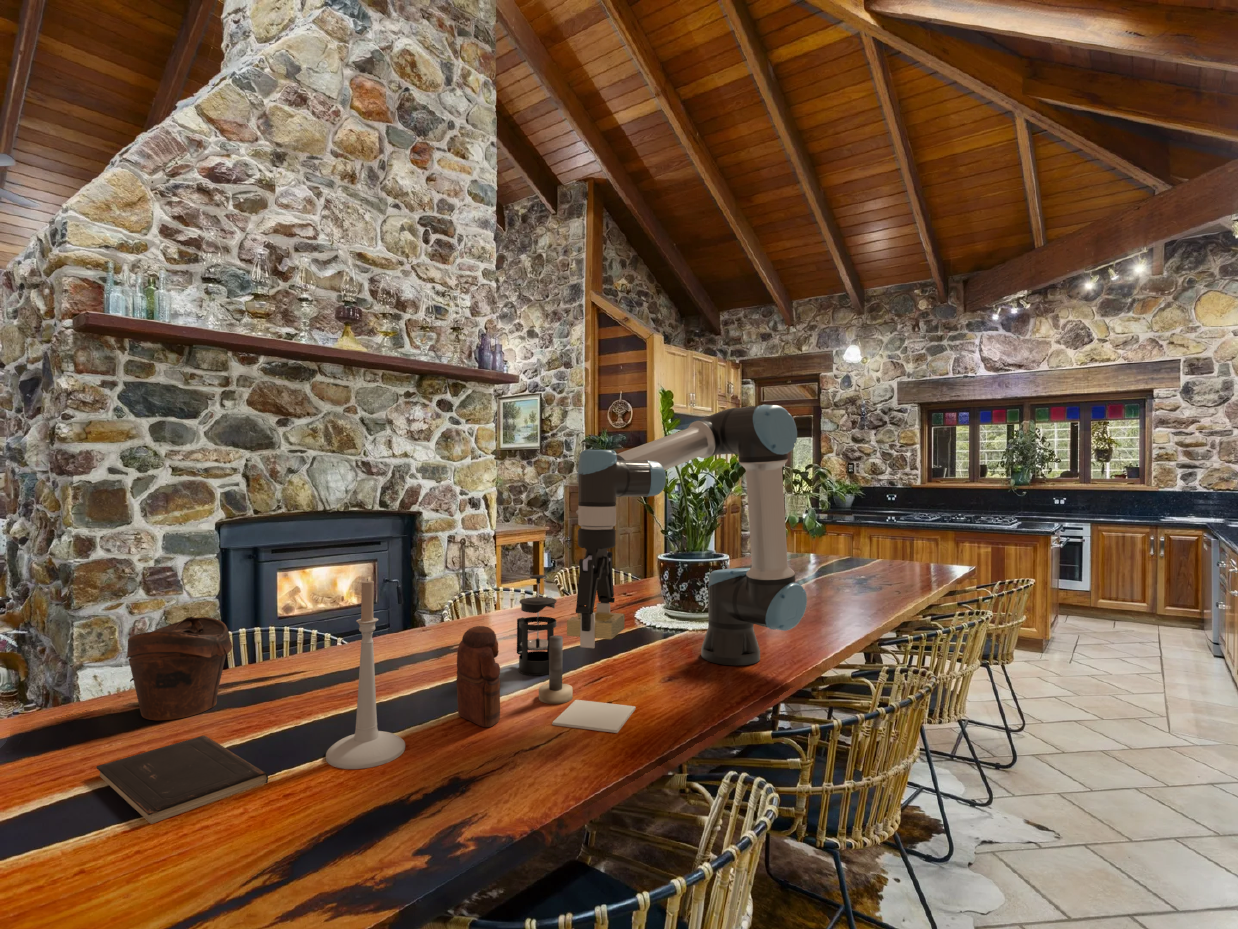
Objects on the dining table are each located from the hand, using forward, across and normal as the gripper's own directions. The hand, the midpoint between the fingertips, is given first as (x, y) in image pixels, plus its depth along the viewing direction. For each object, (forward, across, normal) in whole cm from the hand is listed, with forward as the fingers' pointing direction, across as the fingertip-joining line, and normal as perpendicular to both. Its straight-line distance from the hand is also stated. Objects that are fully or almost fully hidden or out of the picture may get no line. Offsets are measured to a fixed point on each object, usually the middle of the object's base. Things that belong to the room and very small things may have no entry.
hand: (595, 640), depth 132 cm
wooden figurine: (+15, +7, -21) cm, 27 cm away
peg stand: (+15, -8, -11) cm, 20 cm away
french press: (+15, -25, -23) cm, 37 cm away
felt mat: (+15, 0, 0) cm, 15 cm away
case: (+16, +21, -81) cm, 86 cm away
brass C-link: (-2, 0, 0) cm, 2 cm away
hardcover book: (+16, +45, -53) cm, 71 cm away
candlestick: (+15, +27, -32) cm, 45 cm away
